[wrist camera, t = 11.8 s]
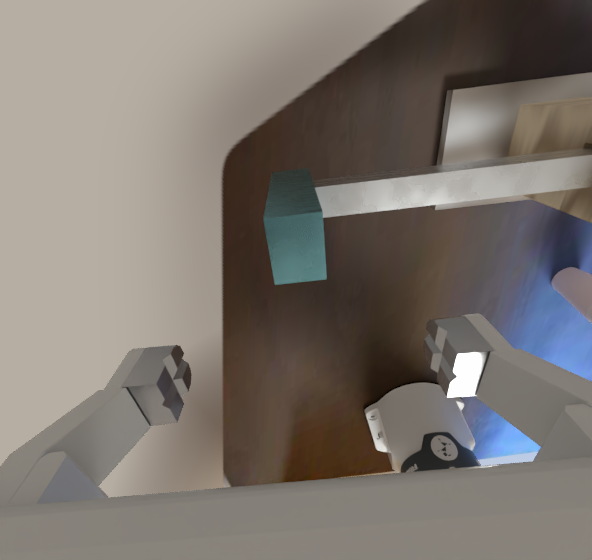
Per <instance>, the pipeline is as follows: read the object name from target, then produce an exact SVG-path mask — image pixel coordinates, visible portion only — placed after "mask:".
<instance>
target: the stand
mask: <svg viewBox="0 0 592 560" xmlns="http://www.w3.org/2000/svg"><path fill="white" fill-rule="evenodd" d="M586 147H592V72H589V73H581V74H573V75H565V76H557V77H549V78H542V79H534V80H526V81H518V82H510V83H502V84H494V85H487V86H479V87H471V88H463V89H455V90H447V96H446V103H445V110H444V117H443V124H442V131H441V138H440V145H439V152H438V159H437V165H443V164H452V163H460V162H469V161H477V160H485V159H494V158H502V157H511V156H519V155H527V154H536V153H544V152H553V151H561V150H569V149H578V148H586ZM529 199H533V200H535V201H538V202H540V203H543V204H545V205H548V206H550V207H553V208H555V209H558V210H560V211H563V212H565V213H568V214H570V215H573V216H575V217H578V218H580V219H583V220H585V221H588V222H590V223H592V187H587V188H578V189H569V190H561V191H552V192H543V193H535V194H526V195H517V196H508V197H500V198H491V199H482V200H473V201H465V202H456V203H447V204H439V205H431V208H433V209H434V210H441V209H450V208H459V207H467V206H476V205H485V204H494V203H503V202H511V201H520V200H529Z"/></svg>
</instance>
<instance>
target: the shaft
mask: <svg viewBox="0 0 592 560" xmlns="http://www.w3.org/2000/svg"><path fill="white" fill-rule="evenodd" d="M587 187H592V147H586V148H578V149H569V150H561V151H553V152H544V153H536V154H527V155H519V156H511V157H502V158H494V159H485V160H477V161H469V162H460V163H452V164H443V165H435V166H427V167H418V168H410V169H401V170H393V171H385V172H376V173H368V174H359V175H351V176H342V177H334V178H326V179H317V180H312V178H311V175H310V172H309V169H308V168H306V169H297V170H289V171H281V172H272V176H271V181H270V186H269V191H268V197H267V202H266V207H265V212H264V217H263V220H264V226H265V232H266V237H267V243H268V249H269V254H270V260H271V266H272V271H273V277H274V283H275V285H279V284H288V283H297V282H307V281H316V280H325V279H327V274H326V258H325V242H324V225H323V218H325V217H334V216H343V215H351V214H360V213H369V212H378V211H386V210H395V209H404V208H412V207H421V206H430V205H439V204H447V203H456V202H465V201H473V200H482V199H491V198H500V197H508V196H517V195H526V194H535V193H543V192H552V191H561V190H569V189H578V188H587Z"/></svg>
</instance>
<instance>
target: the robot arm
mask: <svg viewBox="0 0 592 560" xmlns="http://www.w3.org/2000/svg"><path fill="white" fill-rule="evenodd" d="M426 329H427V331H428V332H429V335H428V336H427V337H426V338H425V340H424V353H425V357H426V360H427V363H428V364H429V366H430V368H431V369H433V370H434V371H436V372H437V373H438V375H437V381H438V383H439V384H440V385H437V384H433V383H413V384H408V385H404V386H401V387H399V388H396V389H394V390H392V391H390V392H389V393H387V394H386V395H385V396H384V397H383V398H381V399H380V400H379V401H378V402H377V403H375V404H372V405H370V406H368V407H367V408H366V409H365V410H364V411H365V415H366V418H367V421H368V425H369V428H370V431H371V434H372V438H373V441H374V444H375V447H376V449H377V450H378V451H382V452H388V456H389V459H390V462H391V466H392V468H393V469H394V470H395V471H397V472H398V473H393V474H382V475H370V476H357V477H346V478H334V479H322V480H310V481H298V482H286V483H275V484H263V485H251V486H240V487H228V488H216V489H205V490H194V491H181V492H170V493H158V494H146V495H136V496H135V495H134V496H123V497H111V498H108V496H107V495H106V494H105V493H104V492H103V491H102V490H101V489H100V488H99V487H98V486H99V485H100V484H101V483H102V481H103V480H104V479H105V478H106V477H107V476H108V475H109V473H110V472H111V471H112V470H113V469H114V468H115V467H116V466H117V465H118V463H119V462H120V461H121V460H122V459H123V458H124V456H125V455H127V453H128V452H129V451H130V450H131V449H132V448H133V447H134V446H135V444H136V443H137V442H138V441H139V440H140V439H141V438H142V437H143V436H144V434H145V433H146V432H147V431H148V430H149V429H150V426H154V425H162V424H171V423H177V422H178V419H179V416H180V413H181V411H182V408H183V405H184V403H183V401H182V397H183V396H184V395H185V394H186V393H187V392H188V391H189V387H190V384H191V370H190V367H189V364H188V363H187V362H185V361H184V360H183V359H182V357H183V354H184V353H183V351H182V349H181V347H180V346H178V345H174V346H161V347H149V348H138V349H132V350H131V351H129V352H128V354H127V355H126V357H125V358H124V360H123V361H122V363H121V364H120V366H119V367H118V369H117V370H116V372H115V373H114V375H113V376H112V378H111V380H110V381H109V383H108V384H107V386H106V387H105V389H104V390H99V391H97V392H96V393H94V394H93V395H92V396H90V397H89V398H88V399H86V400H85V401H83V402H82V403H81V404H79V405H78V406H76V407H75V408H74V409H72V410H71V411H70V412H68V413H67V414H65V415H64V416H63V417H61V418H60V419H58V420H57V421H56V422H54V423H53V424H52V425H50V426H49V427H47V428H46V429H45V430H43V431H42V432H41V433H39V434H38V435H37V436H35V437H34V438H32V439H31V440H29V441H28V442H27V443H25V444H24V445H23V446H21V447H20V448H18V449H17V450H16V451H14V452H13V453H11V454H10V455H9V456H8V458H7V459H6V460H5V461H4V463H3V464H2V465H1V466H0V560H592V382H591V381H589V380H587V379H585V378H582V377H580V376H578V375H576V374H574V373H572V372H569V371H567V370H565V369H563V368H561V367H558V366H556V365H554V364H552V363H550V362H547V361H545V360H543V359H541V358H539V357H537V356H534V355H532V354H530V353H528V352H526V351H523V350H521V349H514V348H513V347H512V346H511V345H510V344H509V343H508V342H507V341H506V340H505V339H504V338H503V337H502V336H501V335H500V333H499V332H498V331H497V330H496V329H495V328H494V327H493V326H492V325H491V324H490V323H489V322H488V321H487V320H486V319H485V318H484V317H483V316H482V315H480V314H478V313H477V314H469V315H462V316H454V317H445V318H436V319H429V321H428V323H427V328H426ZM462 396H476V398H478V399H479V400H480V401H482V402H483V403H484V404H485V405H487V406H488V407H489V408H491V409H492V410H493V411H495V412H496V413H497V414H499V415H500V416H501V417H503V418H504V419H505V420H507V421H508V422H509V423H510V424H512V425H513V426H514V427H516V428H517V429H518V430H520V431H521V432H522V433H524V434H525V435H526V436H528V437H529V438H530V439H531V440H533V441H534V442H535V443H537V444H538V445H539V446H541V448H540V450H539V452H538V453H537V455H536V457H535V459H534V461H533V462H523V463H510V464H499V465H487V466H481V464H480V463H479V461H478V460H477V458H476V456H475V454H474V453H473V452H472V450H473V448H474V445H475V440H474V438H473V436H472V434H471V431H470V429H469V427H468V425H467V423H466V421H465V419H464V417H463V415H462V412H461V410H462V408H463V407H464V403H463V401H462V399H460V398H458V397H462Z"/></svg>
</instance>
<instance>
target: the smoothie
mask: <svg viewBox="0 0 592 560" xmlns="http://www.w3.org/2000/svg"><path fill="white" fill-rule="evenodd" d="M551 285H552V287H553V288H554V289H555V290H557V291H558V292H559V293H560V294H561V295H562V296H563V297H564V298H565V299H566V300H567V301H568V302H569V303H570V304H571V305H573V306H574V307H575V308H576V309H577V310H578V311H579V312H580V313H581V314H582V315H583V316H584V317H585V318H586V319H587V320H588V321H589V322H591V323H592V274H589V273H587V272H585V271H582V270H580V269H577V268H575V267H568V268H565V269H563V270H561V271H559V272H558V273H557V274H556V275H555V276H554V277H553V279H552V281H551Z"/></svg>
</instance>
